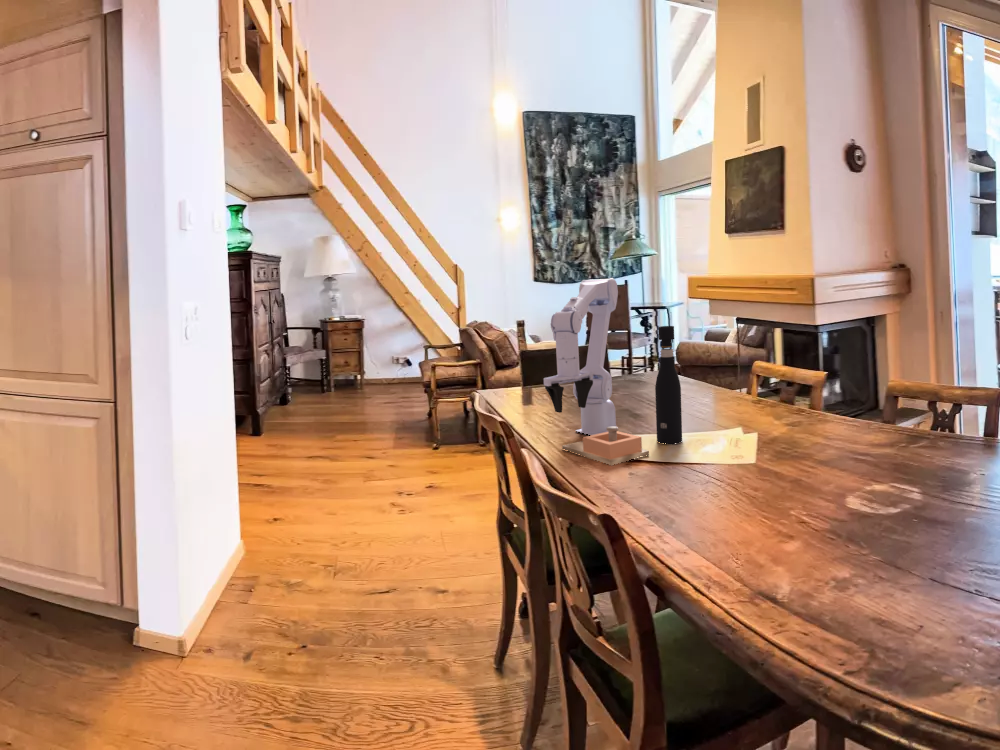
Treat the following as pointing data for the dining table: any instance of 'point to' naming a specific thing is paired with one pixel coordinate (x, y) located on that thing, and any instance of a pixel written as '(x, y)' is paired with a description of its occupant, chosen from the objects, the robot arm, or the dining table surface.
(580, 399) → the robot arm
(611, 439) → the thin beige base plate
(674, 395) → the black water bottle
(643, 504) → the dining table surface
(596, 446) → the pink square frame
